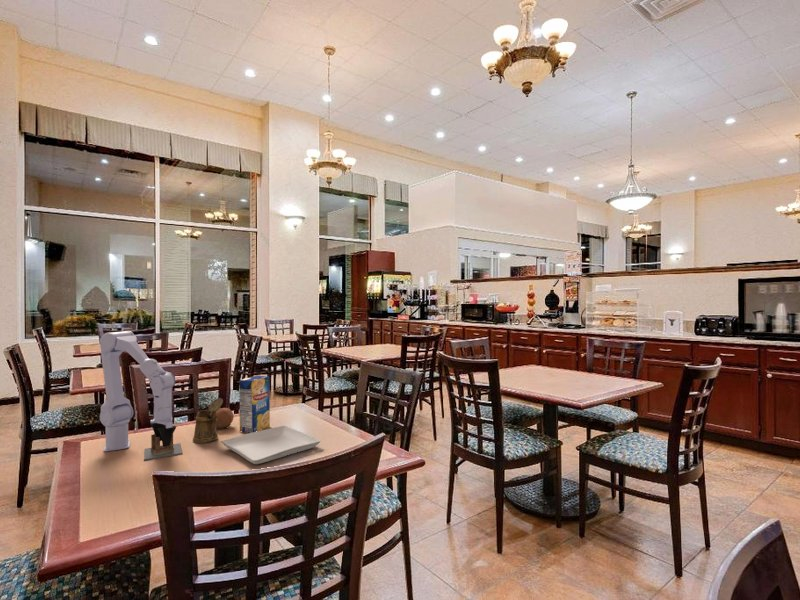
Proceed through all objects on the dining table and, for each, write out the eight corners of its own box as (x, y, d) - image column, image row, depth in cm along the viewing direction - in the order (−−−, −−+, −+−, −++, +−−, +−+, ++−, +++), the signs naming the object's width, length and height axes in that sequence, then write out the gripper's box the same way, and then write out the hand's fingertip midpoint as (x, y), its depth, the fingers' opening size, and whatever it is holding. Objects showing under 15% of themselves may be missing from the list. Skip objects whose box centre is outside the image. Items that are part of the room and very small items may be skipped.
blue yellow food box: (239, 431, 182) (239, 380, 181) (257, 424, 192) (257, 375, 191) (252, 433, 179) (251, 381, 179) (269, 426, 189) (269, 376, 189)
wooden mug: (209, 447, 163) (209, 400, 163) (188, 441, 170) (187, 395, 170) (229, 440, 171) (229, 395, 171) (208, 434, 178) (207, 391, 178)
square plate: (219, 450, 161) (219, 439, 161) (284, 433, 180) (284, 424, 180) (253, 470, 142) (253, 459, 142) (322, 449, 161) (322, 439, 161)
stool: (150, 451, 158) (150, 434, 158) (168, 447, 162) (168, 431, 162) (156, 455, 153) (155, 438, 153) (174, 450, 158) (173, 434, 158)
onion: (212, 436, 185) (201, 416, 184) (228, 424, 194) (217, 405, 193) (226, 431, 181) (214, 410, 180) (242, 419, 189) (231, 399, 188)
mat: (144, 450, 160) (144, 448, 160) (180, 444, 166) (180, 443, 166) (144, 460, 150) (144, 459, 150) (182, 454, 156) (182, 452, 156)
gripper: (144, 405, 160) (145, 441, 160) (157, 412, 150) (157, 451, 150) (165, 401, 165) (165, 436, 165) (178, 408, 155) (178, 446, 155)
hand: (163, 443), depth 158 cm, fingers open, 7 cm apart
